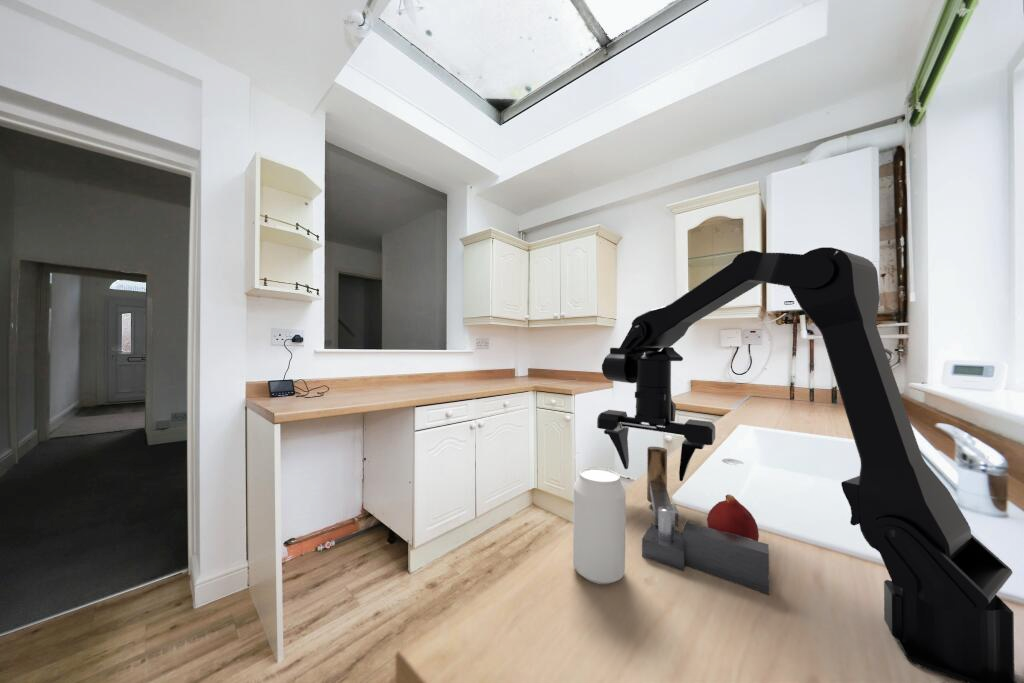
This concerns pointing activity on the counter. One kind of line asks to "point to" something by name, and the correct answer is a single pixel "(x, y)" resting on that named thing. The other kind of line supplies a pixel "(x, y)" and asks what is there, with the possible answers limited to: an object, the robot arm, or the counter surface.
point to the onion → (733, 519)
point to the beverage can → (599, 525)
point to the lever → (658, 481)
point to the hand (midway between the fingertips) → (652, 474)
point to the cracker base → (707, 551)
